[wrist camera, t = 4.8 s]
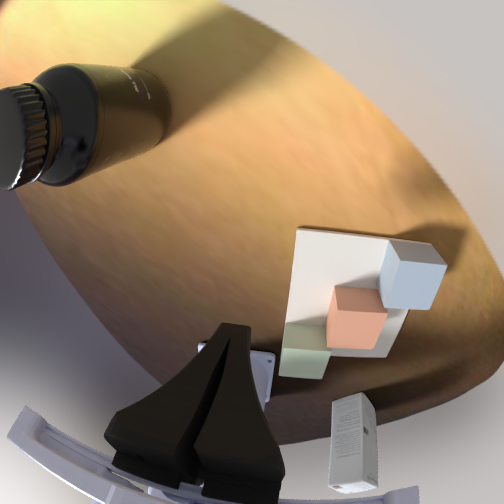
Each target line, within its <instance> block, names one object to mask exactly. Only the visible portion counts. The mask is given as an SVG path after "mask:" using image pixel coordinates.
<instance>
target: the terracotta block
mask: <svg viewBox="0 0 504 504" xmlns="http://www.w3.org/2000/svg"><path fill="white" fill-rule="evenodd" d="M387 315H388V311H387V308H384V305H383V302H382V299H381V296H380V293H379V290H378V289H367V288H354V287H343V286H334V289H333V293H332V298H331V302H330V306H329V310H328V314H327V318H326V322H325V325H326V341H327V347H330V348H348V349H373V348H374V346H375V344H376V341H377V339H378V337H379V335H380V332H381V330H382V328H383V325H384V323H385V320H386V318H387Z"/></svg>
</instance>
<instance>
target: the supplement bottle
mask: <svg viewBox="0 0 504 504" xmlns="http://www.w3.org/2000/svg"><path fill="white" fill-rule="evenodd" d="M169 117H170V101H169V96H168V93H167V91H166V89H165V87H164V85H163V84H162V82H161V81H160V80H159V79H158V78H157V77H156V76H154V75H153V74H151V73H149V72H146V71H143V70H138V69H132V68H124V67H116V66H106V65H94V64H76V63H68V64H59V65H55V66H52V67H50V68H48V69H47V70H45V71H44V72H42V73H41V74H39V75H38V76H37V77H36V78H35V79H34V80H33V81H32V82H31V83H24V84H21V85H19V86H12V87H7V88H3V89H1V90H0V190H3V191H11V190H14V189H16V188H18V187H20V186H22V185H24V184H30V183H33V182H35V181H39V182H41V183H42V184H45V185H48V186H54V187H60V186H65V185H69V184H71V183H74V182H76V181H78V180H81V179H83V178H85V177H87V176H89V175H92V174H94V173H96V172H99V171H101V170H103V169H106V168H108V167H111V166H113V165H116V164H118V163H121V162H123V161H126V160H128V159H131V158H134V157H136V156H139V155H141V154H143V153H145V152H147V151H149V150H150V149H151V148H153V147H154V146H155V145H156V144H157V143H158V141H159V140H160V139H161V137H162V136H163V134H164V132H165V130H166V128H167V125H168V122H169Z"/></svg>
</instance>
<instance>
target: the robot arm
mask: <svg viewBox="0 0 504 504" xmlns="http://www.w3.org/2000/svg"><path fill="white" fill-rule="evenodd" d="M250 347H251V328H250V327H249V326H245V325H237V324H230V323H221V324H220V325H219V327H218V328H217V330H216V331H215V333H214V334H213V335H212V337H211V338H210V339H209V341H208V342H207V343H200V344H199V345H198V351H199V353H198V354H197V355H196V356H195V357H194V358H193V359H192V360H191V361H190V362H189V363H188V364H187V365H186V366H185V367H184V368H183V369H182V370H181V371H180V372H179V373H178V374H177V375H175V376H174V377H173V378H172V379H171V380H169V381H168V382H167V383H165V384H164V385H163V386H161V387H160V388H159V389H157V390H156V391H154V392H153V393H151V394H150V395H148V396H146V397H145V398H143V399H141V400H140V401H138V402H136V403H134V404H133V405H130V406H128V407H126V408H124V409H122V410H120V411H118V412H116V414H115V415H114V417H113V418H112V420H111V422H110V423H109V425H108V427H107V429H106V431H105V433H104V438H105V439H106V441H107V442H108V443H109V444H110V445H111V446H112V447H113V448H114V449H115V450H116V451H117V452H116V454H115V456H114V458H112V457H110V456H108V455H106V454H104V453H101V452H99V451H97V450H95V449H93V448H91V447H89V446H87V445H85V444H83V443H81V442H79V441H78V440H76V439H74V438H72V437H70V436H68V435H67V434H65V433H63V432H61V431H60V430H58V429H56V428H55V427H53V426H51V425H50V424H48V423H47V421H46V420H45V419H44V418H43V417H41V416H40V415H39V414H38V413H36V412H35V411H33V410H32V409H30V408H29V407H27V406H24V408H23V410H22V411H21V413H20V414H19V416H18V418H17V419H16V421H15V423H14V424H13V426H12V428H11V429H10V431H9V433H8V435H7V439H9V440H10V441H11V442H12V443H14V444H15V445H16V446H17V447H18V448H19V449H20V450H22V451H23V452H24V453H25V454H27V455H28V456H29V457H30V458H32V459H33V460H34V461H36V462H37V463H38V464H40V465H41V466H42V467H44V468H45V469H47V470H48V471H49V472H51V473H52V474H54V475H55V476H57V477H58V478H60V479H61V480H63V481H64V482H66V483H67V484H69V485H71V486H72V487H74V488H76V489H77V490H79V491H81V492H82V493H84V494H86V495H88V496H90V497H91V498H93V499H92V502H91V504H419V489H418V486H413V487H408V488H403V489H398V490H393V491H390V492H388V493H386V494H384V495H380V496H372V497H364V498H353V499H336V500H294V499H279V491H280V489H281V482H282V480H283V478H284V476H285V467H284V462H283V459H282V455H281V452H280V448H279V446H278V444H277V442H276V440H275V438H274V436H273V434H272V432H271V430H270V427H269V425H268V423H267V420H266V418H265V415H264V406H265V402H267V401H269V398H270V391H271V384H272V378H273V371H274V363H275V354H273V353H269V352H261V351H253V350H250ZM111 471H112V472H114V473H116V474H119V475H121V476H123V477H126V478H128V479H131V480H133V481H136V482H138V483H141V484H144V485H146V486H149V489H148V493H149V495H148V494H145V493H144V491H143V490H141V489H140V488H138V487H136V486H134V485H133V484H131V483H130V482H129V481H128V480H125V479H123V478H121V477H119V476H117V475H115V474H113V473H112V472H111Z"/></svg>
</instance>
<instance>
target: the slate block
mask: <svg viewBox="0 0 504 504" xmlns="http://www.w3.org/2000/svg"><path fill="white" fill-rule="evenodd" d="M447 266H448V265H447V264H446V263H445V261H444V260H443V259H442V257H441V256H440V255H439V253H438V252H437V251H436V249H435V248H434V247H433V246H432V245H425V244H417V243H409V242H401V241H393V240H389V241H388V245H387V249H386V253H385V256H384V260H383V263H382V267H381V270H380V274H379V277H378V280H377V284H376V285H377V288H378V290H379V293H380V296H381V299H382V302H383V305H384V308H395V309H417V310H429V309H430V307H431V305H432V302H433V300H434V298H435V295H436V293H437V291H438V288H439V286H440V284H441V281H442V279H443V276H444V274H445V271H446V268H447Z"/></svg>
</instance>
